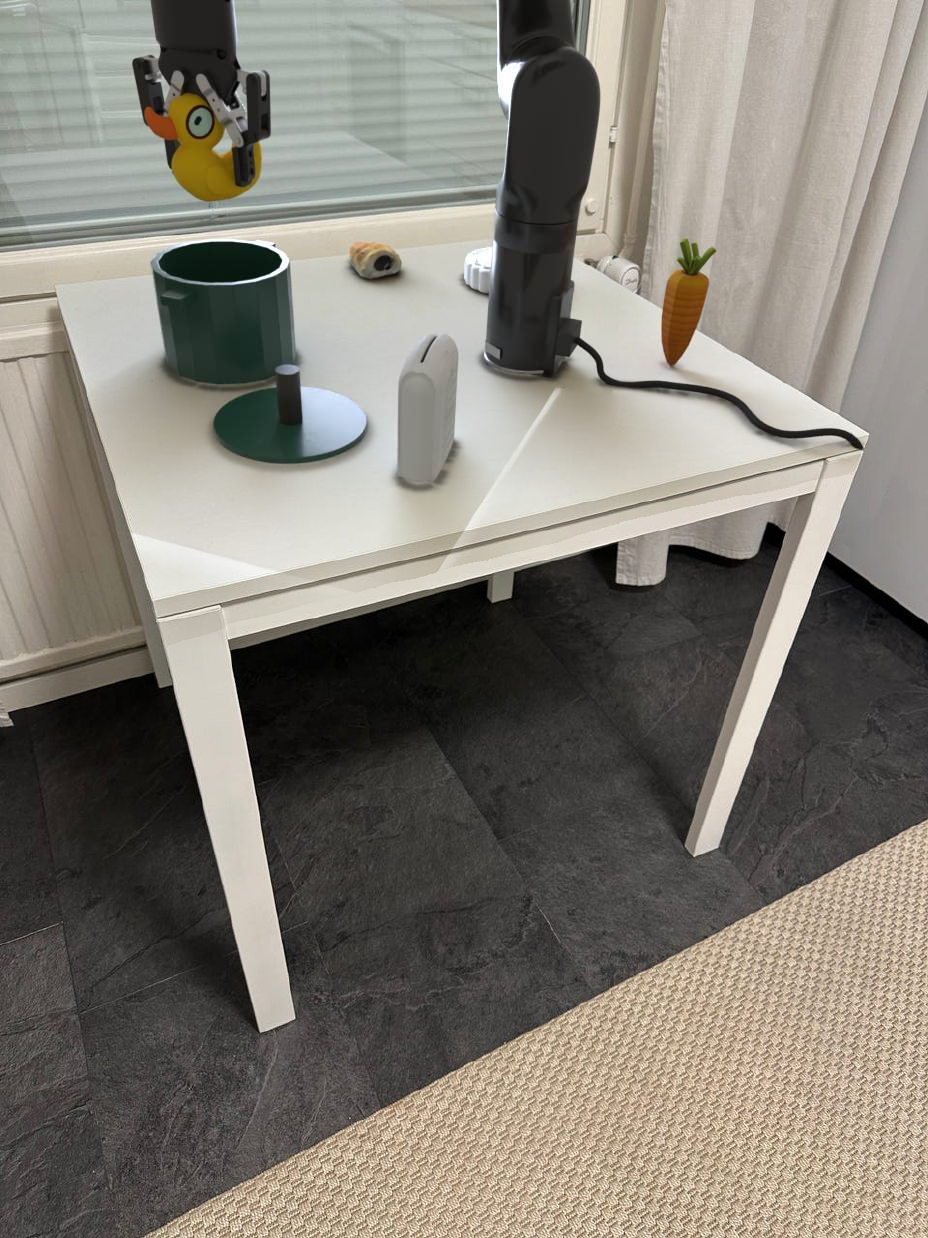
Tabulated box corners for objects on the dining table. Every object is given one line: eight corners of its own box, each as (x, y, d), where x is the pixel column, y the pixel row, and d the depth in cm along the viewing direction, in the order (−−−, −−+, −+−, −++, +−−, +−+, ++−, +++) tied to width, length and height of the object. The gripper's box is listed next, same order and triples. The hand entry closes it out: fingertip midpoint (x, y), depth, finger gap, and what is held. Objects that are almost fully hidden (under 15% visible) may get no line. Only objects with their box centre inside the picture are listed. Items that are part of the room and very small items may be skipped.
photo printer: (418, 433, 96) (421, 318, 88) (458, 439, 96) (464, 324, 88) (391, 483, 89) (392, 361, 81) (435, 490, 88) (440, 368, 80)
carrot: (698, 366, 113) (727, 241, 104) (676, 378, 110) (704, 250, 101) (665, 353, 116) (690, 229, 106) (642, 364, 113) (666, 238, 103)
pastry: (338, 259, 136) (337, 232, 134) (380, 254, 139) (380, 228, 136) (364, 280, 130) (363, 253, 127) (407, 275, 132) (407, 248, 130)
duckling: (167, 213, 92) (150, 100, 86) (150, 198, 95) (133, 88, 89) (273, 201, 97) (265, 93, 91) (253, 187, 100) (244, 83, 94)
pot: (326, 340, 113) (322, 244, 106) (244, 409, 98) (232, 303, 91) (222, 320, 117) (211, 225, 109) (127, 382, 102) (106, 278, 94)
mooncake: (549, 299, 128) (552, 273, 126) (463, 294, 128) (464, 268, 125) (544, 270, 137) (547, 245, 135) (464, 265, 137) (465, 240, 134)
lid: (390, 413, 100) (390, 354, 95) (326, 482, 88) (323, 418, 84) (261, 385, 103) (256, 327, 99) (184, 448, 92) (174, 385, 87)
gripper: (98, -19, 83) (131, 178, 94) (239, -3, 80) (256, 199, 91) (147, -25, 89) (172, 162, 99) (280, -11, 86) (292, 181, 96)
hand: (212, 179), depth 95 cm, fingers closed on duckling, 6 cm apart
